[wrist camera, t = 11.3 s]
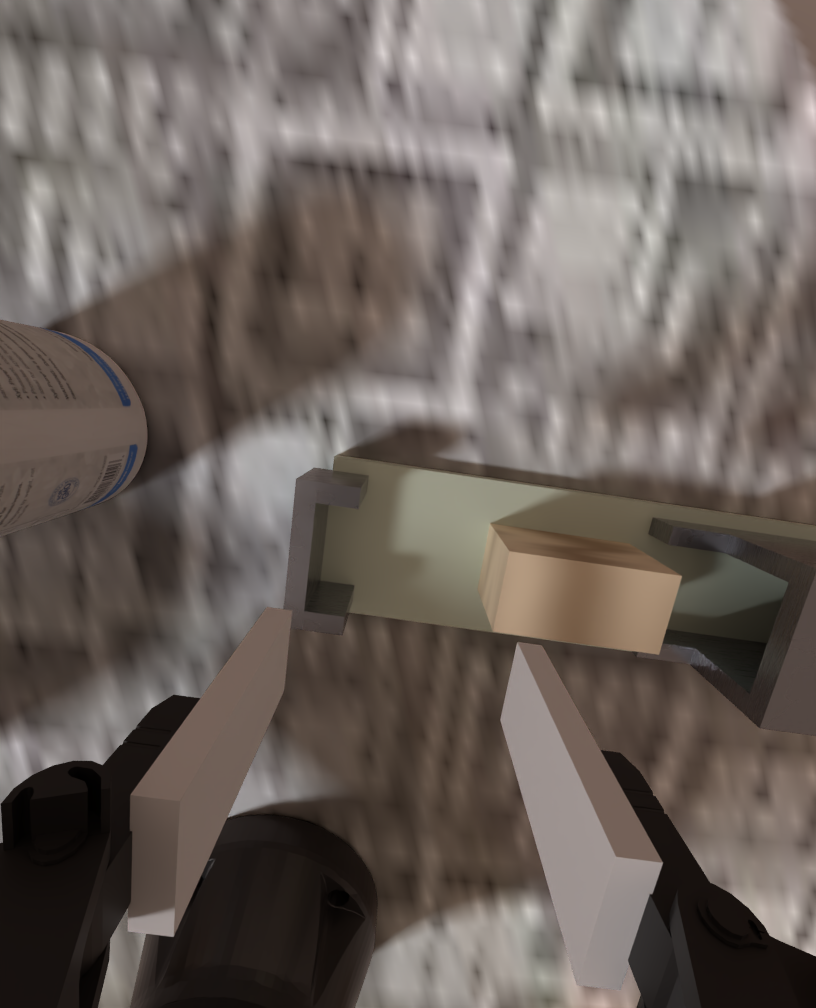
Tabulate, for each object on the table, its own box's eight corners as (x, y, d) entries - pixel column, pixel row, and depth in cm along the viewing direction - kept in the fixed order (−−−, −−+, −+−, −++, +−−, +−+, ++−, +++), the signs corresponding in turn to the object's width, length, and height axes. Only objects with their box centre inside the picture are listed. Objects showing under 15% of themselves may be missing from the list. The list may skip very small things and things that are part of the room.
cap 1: (301, 594, 26) (281, 627, 22) (314, 467, 24) (296, 478, 20) (352, 601, 26) (342, 635, 22) (369, 475, 24) (360, 488, 20)
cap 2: (619, 638, 26) (693, 719, 19) (652, 517, 25) (745, 558, 18) (782, 661, 27) (912, 748, 20) (825, 542, 25) (982, 592, 18)
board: (320, 600, 27) (317, 608, 26) (337, 454, 25) (334, 456, 24) (765, 662, 28) (778, 672, 27) (814, 525, 26) (830, 529, 25)
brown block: (629, 543, 25) (682, 575, 20) (612, 608, 26) (658, 654, 21) (490, 523, 25) (509, 551, 20) (477, 589, 26) (493, 631, 21)
